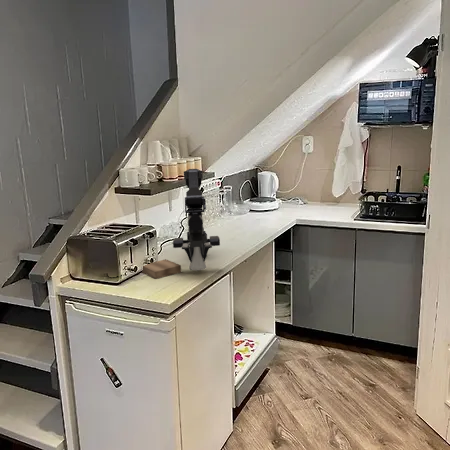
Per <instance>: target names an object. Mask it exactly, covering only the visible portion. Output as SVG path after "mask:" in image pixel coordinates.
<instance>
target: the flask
mask: <svg viewBox="0 0 450 450" xmlns="http://www.w3.org/2000/svg"><path fill="white" fill-rule="evenodd" d="M188 269H189V270H190V271H203V270H206V269H207V265H206V262H204V259H203V257H202V254H201V251H200V247H194V251H193V256H192V258H191V262H189V268H188Z"/></svg>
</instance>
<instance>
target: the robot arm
mask: <svg viewBox="0 0 450 450" xmlns="http://www.w3.org/2000/svg"><path fill="white" fill-rule="evenodd" d="M203 173H204V172H203V170H200V169H198V168H189V169H186V170H185V171H183V181H184V182H185V185H186V187H187V188H188V190H187V191H186V193H185V195H186V196H185V197H184V213H185V214H187V218H188V219H187V226H188V230H187V232H186V236H187V239H184V237H174V238H173V241H172V248H174V249H178V248H180V249H181V250H183V251H185V253H186V255H187V257H188V260H189V263H191V260H192V256H193V251H194V247H200V251H201V254H202V257H203V260H204V262H205V261H206V258H207V256H208V252H209V250H210V249H211V248H213V247H216V246H217V247H218V246H219V247H220V245H221V243H220V242H221V240H220V237H219V236H218V235H210V236H209V238H208V234H207V232H206V230H204V229H205V227H204V220H203V213H205V210H207V205H206V204H207V203H206V198H205V196H203V192H202V190H201V189H200V188H201V185H202V181H203V180H204V176H203ZM205 263H206V262H205Z"/></svg>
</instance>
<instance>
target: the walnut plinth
mask: <svg viewBox="0 0 450 450" xmlns="http://www.w3.org/2000/svg"><path fill="white" fill-rule="evenodd" d="M146 264H147V265H145V266H143V271H142V272H141V273H142V274H145V275H147V276H149V277H150V278H153V279H155V280H158V279H160V278H164V277H168V276H172V275H176V274H180V273H182V265H181V264H178V263H176V262H175V261H174V262H173V261H171V260H168V259H166V258H165V259H162V260H158V261H157V260H156V261H153V262H150V264H148V263H146Z"/></svg>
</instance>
